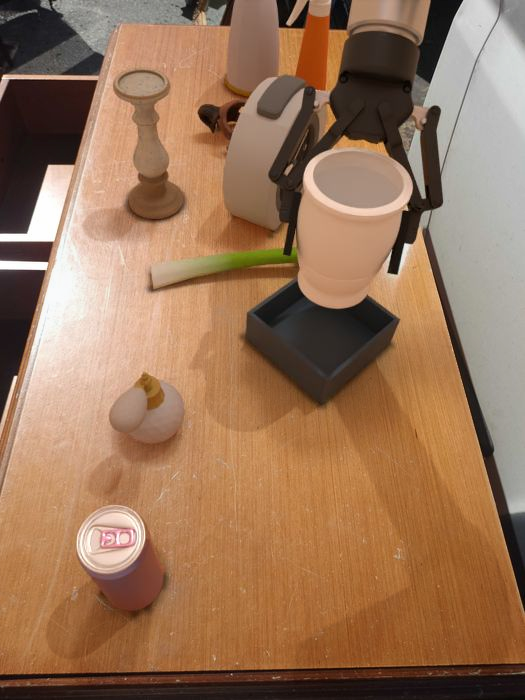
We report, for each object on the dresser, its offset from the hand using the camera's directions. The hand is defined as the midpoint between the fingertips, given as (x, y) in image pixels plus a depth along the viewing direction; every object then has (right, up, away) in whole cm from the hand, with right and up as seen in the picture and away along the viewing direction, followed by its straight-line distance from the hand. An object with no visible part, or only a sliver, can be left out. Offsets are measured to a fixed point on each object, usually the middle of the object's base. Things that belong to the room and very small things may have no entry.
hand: (339, 264), depth 59 cm
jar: (0, -1, +7) cm, 7 cm away
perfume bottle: (-21, -19, +8) cm, 30 cm away
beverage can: (-21, -33, -1) cm, 39 cm away
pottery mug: (-14, +30, +43) cm, 54 cm away
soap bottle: (-10, +45, +54) cm, 71 cm away
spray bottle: (-1, +35, +48) cm, 59 cm away
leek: (-9, +2, +24) cm, 26 cm away
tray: (0, -8, +18) cm, 19 cm away
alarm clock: (-6, +16, +34) cm, 38 cm away
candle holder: (-25, +15, +32) cm, 44 cm away
